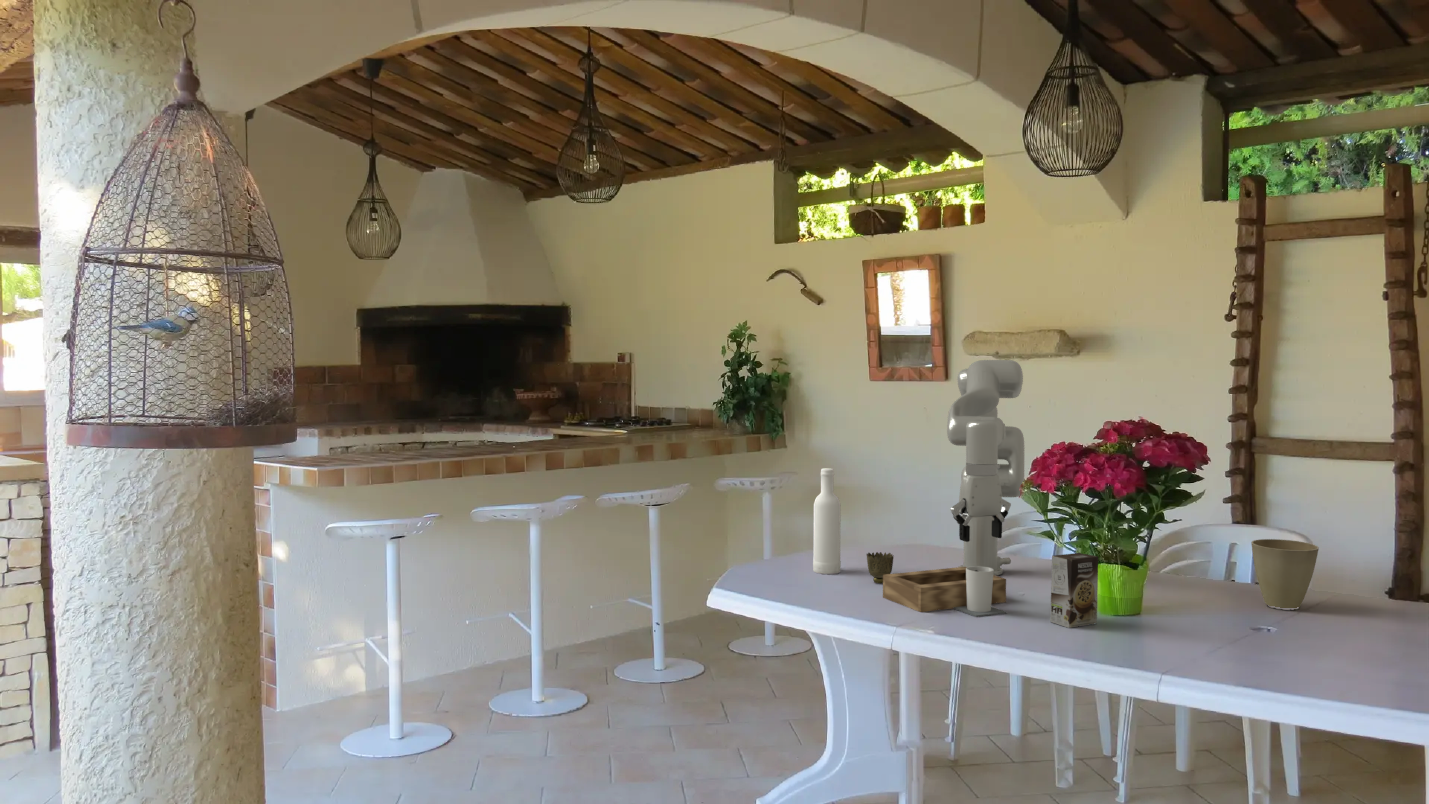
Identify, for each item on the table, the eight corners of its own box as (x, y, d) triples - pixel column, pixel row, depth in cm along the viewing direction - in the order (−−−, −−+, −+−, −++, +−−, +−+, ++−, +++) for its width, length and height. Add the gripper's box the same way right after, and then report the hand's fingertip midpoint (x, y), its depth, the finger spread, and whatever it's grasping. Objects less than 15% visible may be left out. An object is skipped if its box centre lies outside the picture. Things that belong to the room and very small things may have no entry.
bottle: (821, 567, 320) (822, 466, 319) (845, 570, 316) (846, 468, 314) (808, 572, 314) (808, 469, 312) (831, 575, 309) (832, 471, 308)
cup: (895, 585, 296) (895, 556, 296) (868, 585, 296) (868, 556, 296) (891, 580, 304) (891, 551, 303) (865, 579, 304) (865, 551, 303)
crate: (964, 588, 293) (965, 566, 292) (1005, 602, 277) (1006, 578, 277) (882, 597, 282) (883, 574, 282) (920, 612, 267) (920, 588, 266)
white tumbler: (961, 610, 267) (962, 569, 266) (970, 604, 273) (970, 565, 272) (988, 613, 263) (988, 573, 263) (996, 608, 269) (997, 568, 269)
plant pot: (1241, 607, 271) (1243, 544, 271) (1260, 597, 282) (1261, 536, 281) (1307, 617, 261) (1309, 552, 260) (1324, 607, 272) (1325, 544, 271)
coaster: (983, 605, 274) (983, 603, 274) (1006, 613, 265) (1006, 611, 265) (953, 608, 270) (953, 607, 270) (976, 617, 262) (976, 615, 262)
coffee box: (1069, 628, 251) (1071, 559, 250) (1049, 622, 257) (1050, 554, 256) (1098, 624, 255) (1099, 556, 255) (1077, 618, 261) (1078, 551, 260)
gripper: (1000, 466, 273) (999, 533, 274) (943, 470, 266) (942, 539, 267) (1019, 469, 266) (1018, 538, 267) (961, 474, 259) (961, 545, 261)
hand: (980, 539), depth 267 cm, fingers open, 9 cm apart
